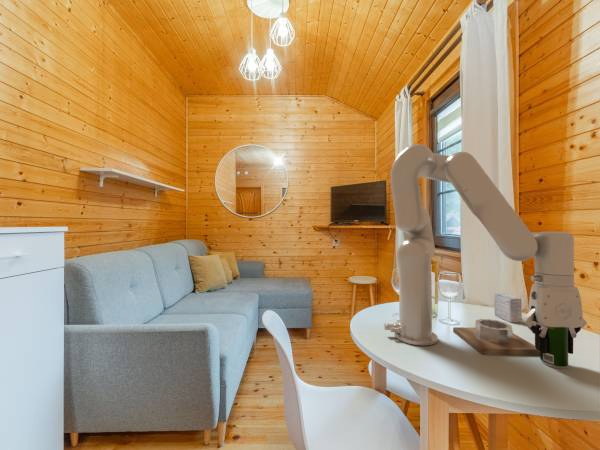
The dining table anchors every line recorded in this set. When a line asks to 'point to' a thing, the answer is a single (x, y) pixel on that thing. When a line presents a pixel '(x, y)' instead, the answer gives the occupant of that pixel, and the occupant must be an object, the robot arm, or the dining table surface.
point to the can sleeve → (494, 331)
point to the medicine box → (508, 308)
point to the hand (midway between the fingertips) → (553, 350)
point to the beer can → (556, 348)
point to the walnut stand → (496, 344)
